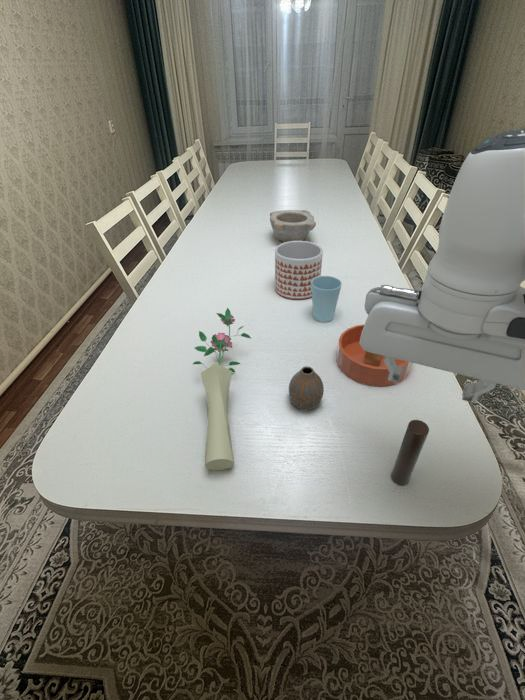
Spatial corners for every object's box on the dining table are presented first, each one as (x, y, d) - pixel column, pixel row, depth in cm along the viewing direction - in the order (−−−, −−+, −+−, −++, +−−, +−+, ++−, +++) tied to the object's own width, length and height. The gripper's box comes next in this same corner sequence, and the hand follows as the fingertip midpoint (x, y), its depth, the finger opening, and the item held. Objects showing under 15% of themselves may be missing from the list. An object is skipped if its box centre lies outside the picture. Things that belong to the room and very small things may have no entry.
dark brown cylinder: (409, 474, 60) (430, 423, 52) (407, 488, 58) (428, 437, 50) (392, 468, 61) (409, 417, 53) (389, 481, 59) (407, 431, 51)
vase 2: (284, 303, 104) (285, 262, 96) (268, 283, 114) (268, 244, 106) (327, 295, 107) (331, 254, 99) (308, 275, 117) (310, 237, 109)
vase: (325, 394, 75) (328, 362, 69) (318, 418, 70) (321, 386, 64) (293, 387, 77) (294, 355, 71) (284, 410, 72) (284, 378, 66)
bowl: (413, 350, 85) (418, 333, 82) (404, 395, 74) (409, 377, 71) (346, 335, 91) (348, 318, 88) (328, 374, 80) (330, 357, 76)
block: (381, 357, 83) (384, 345, 81) (379, 366, 80) (381, 354, 78) (366, 353, 84) (369, 341, 82) (363, 362, 82) (365, 350, 79)
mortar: (316, 246, 136) (317, 222, 130) (271, 248, 135) (271, 224, 130) (309, 231, 149) (310, 208, 143) (268, 232, 148) (268, 209, 143)
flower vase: (207, 486, 67) (205, 344, 89) (269, 472, 65) (252, 330, 87) (176, 466, 58) (183, 313, 80) (247, 449, 56) (234, 297, 78)
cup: (307, 323, 96) (309, 288, 89) (310, 308, 101) (312, 274, 95) (336, 326, 94) (340, 291, 88) (337, 310, 100) (341, 276, 94)
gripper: (362, 294, 41) (347, 381, 50) (578, 335, 34) (517, 429, 43) (373, 271, 45) (358, 355, 54) (566, 303, 38) (513, 394, 47)
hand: (429, 388), depth 48 cm, fingers open, 8 cm apart
